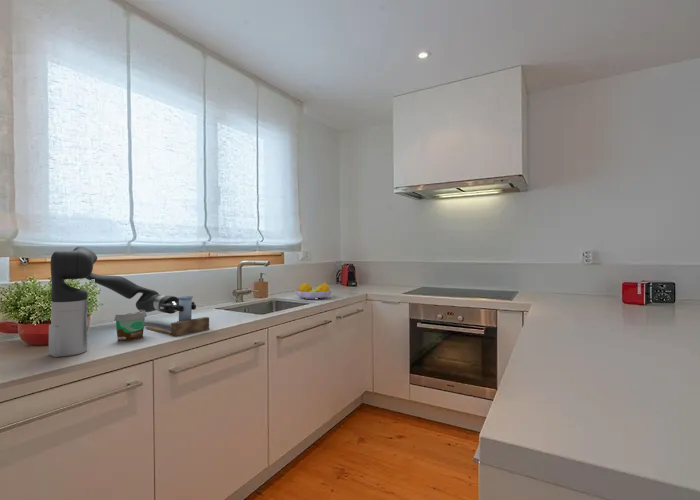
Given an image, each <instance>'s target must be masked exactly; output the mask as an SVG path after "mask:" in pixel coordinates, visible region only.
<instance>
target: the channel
mask: <svg viewBox="0 0 700 500" xmlns="http://www.w3.org/2000/svg"><path fill="white" fill-rule="evenodd" d="M170 328H171V329H170V330H167V329H165V328H160V327H154V326H151V325H149V326H145V330H148V331H153V332H156V333H161V334H164V335H166V336H167V335H168V336H172V337H179V336H183V335H188V334H193V333H197V332H202V331H208V330H210V317H209V316H205V317H197V318H191V320H185V321H179V320H176V321H174V322H171V325H170Z"/></svg>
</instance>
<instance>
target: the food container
mask: <svg viewBox="0 0 700 500" xmlns="http://www.w3.org/2000/svg"><path fill="white" fill-rule="evenodd" d="M147 316H148V315H147V312H145V310H139V311H137V312H130V313H126V314H115V316H114V322H115V325H116V326H115V327H116V338H117V342H131V341H136V340H141V339H142V338H143V337H144V329H145V328H144V327H145V321H146V320H145V318H147Z"/></svg>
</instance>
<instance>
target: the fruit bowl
mask: <svg viewBox="0 0 700 500" xmlns="http://www.w3.org/2000/svg"><path fill="white" fill-rule="evenodd" d="M330 287H331V286H330V285H329V284H328V283H327V280H325V281H324V282H323V283H321V284H319V285H318V286H316V287H312V286H311V284H309V283H308V282H302V283H301V284H300V285H299V287H298V288H297V289H295V290H294V292H295V294H296V296H298V297H300V298H302V299H304V298H305V299H304V300H314V299H315V298H322V299H325V298H327V297H328V296H330V295H331V294H332V293H333V290H332V289H331V288H330ZM324 297H325V298H324Z"/></svg>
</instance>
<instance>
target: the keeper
mask: <svg viewBox="0 0 700 500" xmlns="http://www.w3.org/2000/svg"><path fill="white" fill-rule="evenodd" d="M177 298H178V299H179V305H180V306H183V307H184V311H182V312H181V311H178V321H185V320H191V319H192V313H193V312H192V311H193V310H192V302H193V301H192V300H193V298H194V296H192V295H180V296H177Z"/></svg>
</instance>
